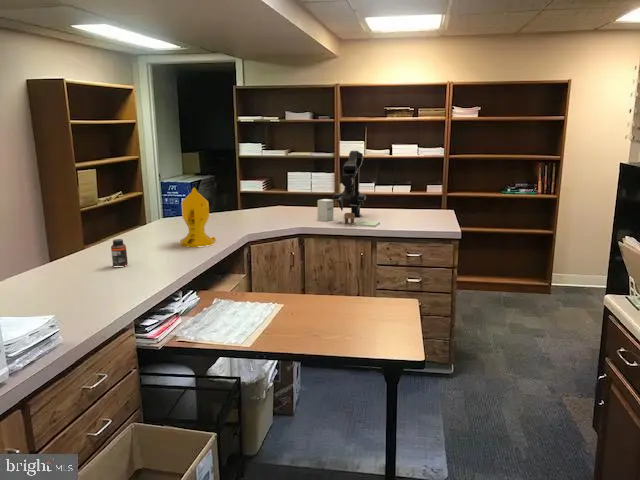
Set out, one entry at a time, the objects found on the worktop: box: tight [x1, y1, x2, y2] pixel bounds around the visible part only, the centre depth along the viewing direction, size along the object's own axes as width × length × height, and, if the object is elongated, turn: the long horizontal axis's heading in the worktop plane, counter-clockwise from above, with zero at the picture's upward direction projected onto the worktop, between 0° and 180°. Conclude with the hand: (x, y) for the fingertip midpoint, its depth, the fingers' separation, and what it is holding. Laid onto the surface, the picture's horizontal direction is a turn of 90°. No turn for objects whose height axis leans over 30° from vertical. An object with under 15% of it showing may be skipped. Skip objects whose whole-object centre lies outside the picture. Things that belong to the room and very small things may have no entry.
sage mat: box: [354, 219, 381, 228], centre depth 307 cm, size 12×12×1 cm
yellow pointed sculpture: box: [179, 187, 217, 247], centre depth 256 cm, size 18×24×28 cm
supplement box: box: [316, 198, 335, 222], centre depth 319 cm, size 7×7×13 cm
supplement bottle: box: [110, 238, 129, 267], centre depth 218 cm, size 6×6×11 cm
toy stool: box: [343, 212, 356, 225], centre depth 309 cm, size 5×5×6 cm
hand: (349, 211), depth 308 cm, fingers open, 9 cm apart
